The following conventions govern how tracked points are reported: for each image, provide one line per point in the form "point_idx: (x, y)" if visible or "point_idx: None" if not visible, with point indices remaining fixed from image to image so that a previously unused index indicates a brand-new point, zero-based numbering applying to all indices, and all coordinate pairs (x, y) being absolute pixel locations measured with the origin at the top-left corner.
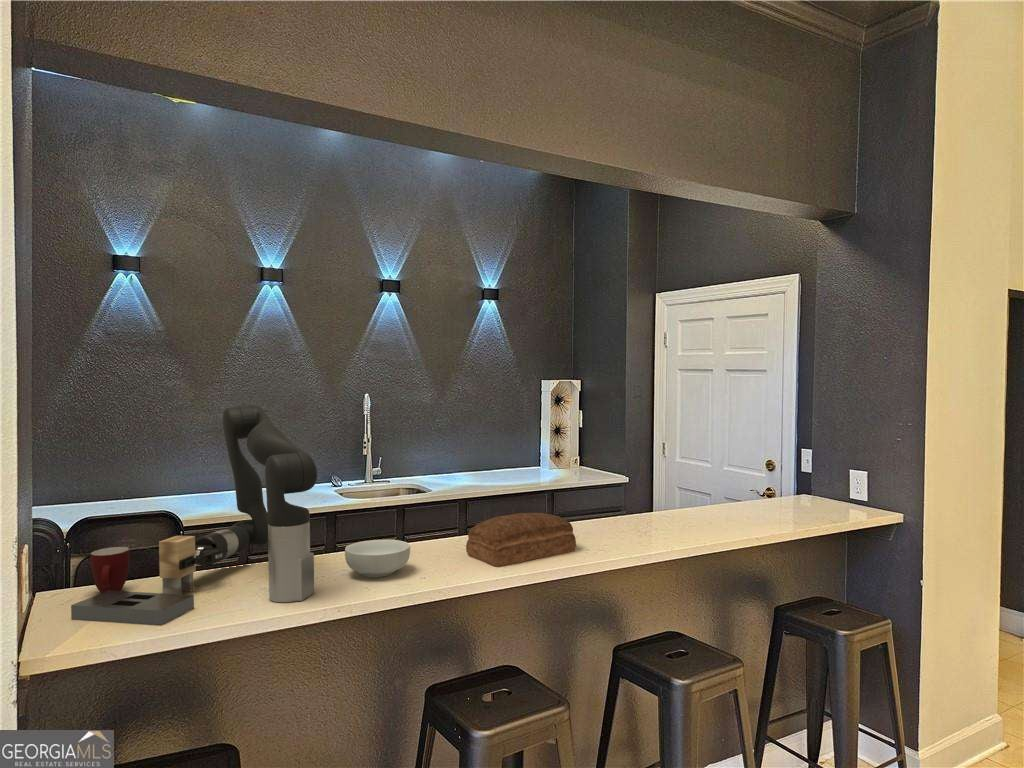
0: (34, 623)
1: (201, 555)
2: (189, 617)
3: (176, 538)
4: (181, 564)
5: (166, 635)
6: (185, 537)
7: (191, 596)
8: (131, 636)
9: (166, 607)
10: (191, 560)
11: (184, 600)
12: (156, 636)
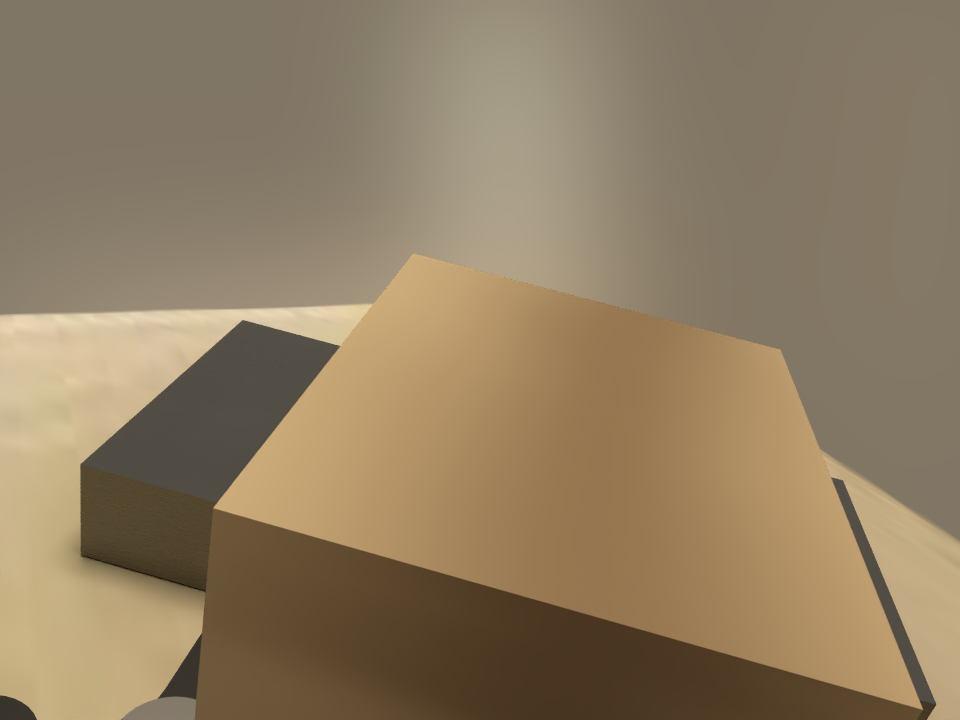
0: (939, 537)
1: (8, 715)
2: (94, 440)
3: (632, 438)
4: None
5: (174, 315)
6: (453, 453)
7: (97, 451)
8: (332, 340)
9: (229, 344)
10: (198, 650)
11: (142, 415)
12: (217, 318)
